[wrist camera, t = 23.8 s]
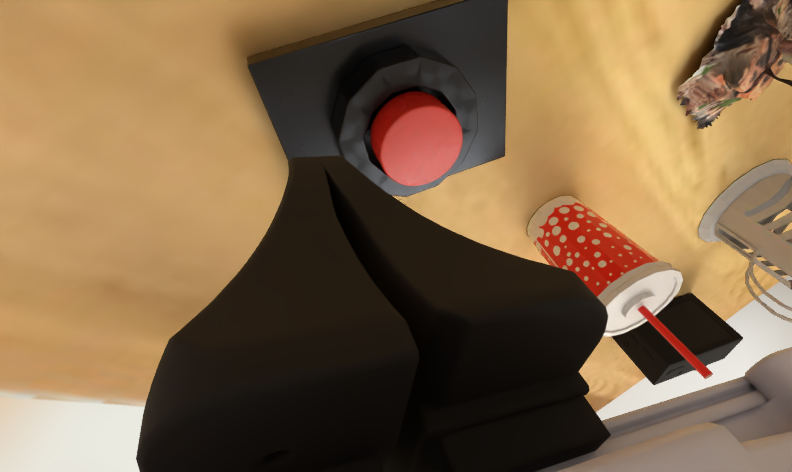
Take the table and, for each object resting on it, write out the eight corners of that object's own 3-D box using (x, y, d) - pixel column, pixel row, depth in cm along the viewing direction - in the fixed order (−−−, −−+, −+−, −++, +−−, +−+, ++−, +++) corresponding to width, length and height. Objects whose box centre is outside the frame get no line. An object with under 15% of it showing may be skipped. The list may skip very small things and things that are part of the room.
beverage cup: (578, 237, 34) (727, 384, 24) (514, 257, 33) (641, 420, 23) (596, 178, 30) (786, 325, 20) (523, 198, 29) (685, 365, 19)
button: (379, 178, 20) (389, 197, 19) (360, 106, 18) (371, 122, 16) (451, 153, 21) (465, 170, 20) (444, 79, 18) (460, 93, 17)
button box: (311, 210, 24) (320, 243, 21) (245, 56, 17) (248, 80, 15) (495, 147, 25) (521, 171, 23) (495, -18, 19) (531, -5, 17)
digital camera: (606, 341, 50) (648, 392, 45) (621, 315, 47) (668, 367, 42) (672, 319, 53) (719, 364, 48) (691, 292, 49) (744, 338, 44)
